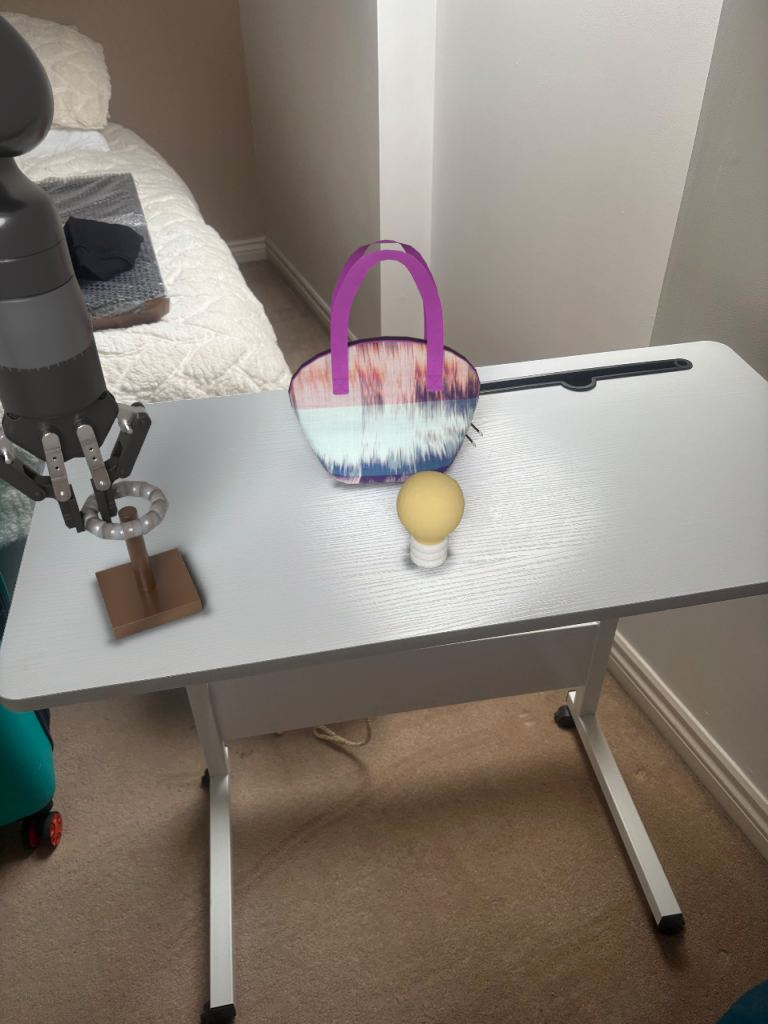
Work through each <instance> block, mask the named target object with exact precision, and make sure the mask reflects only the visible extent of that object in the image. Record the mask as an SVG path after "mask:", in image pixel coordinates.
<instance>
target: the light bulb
mask: <svg viewBox="0 0 768 1024" xmlns="http://www.w3.org/2000/svg"><path fill="white" fill-rule="evenodd" d="M397 493H398V494H397V496H396V502H395V507H396V509H395V510H396V514H397V517H398V520H399V521H400V523H401V525H402V526H403V528H404V529H405V530H406V531H407V532H408V534H409V552H408V553H409V555H408V556H409V559H410V560H411V562H412V563H413V564H414V565H415V566H418V567H420V568H425V569H434V568H437V567H440V566H441V565H443V564H444V563H445V562H446V560H447V559H448V549H449V535H450V534H452V533H453V532H454V531H455V530H456V529H457V527H458V526H459V525H460V524H461V522H462V519H463V517H464V513H465V506H466V504H465V503H466V502H465V497H464V492H463V490H462V488H461V486H460V484H459V483H458V481H457V479H455V478H454V477H452V476H450V475H449V474H447V473H445V472H444V473H440V472H436V471H422V472H418V473H416V474H414V475H412V476H411V477H410V478H408V479H407V480H406V482H403V484H402V486H401V487H400V489H399V491H398V492H397Z"/></svg>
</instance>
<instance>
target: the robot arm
mask: <svg viewBox="0 0 768 1024" xmlns="http://www.w3.org/2000/svg"><path fill="white" fill-rule="evenodd" d="M54 99H55V97H54V93H53V88H52V85H51V81H50V79H49V76H48V73H47V71H46V69H45V67H44V65H43V63H42V61H41V59H40V58H39V57H38V55H37V53H36V52H35V50H34V49H33V47H32V46H31V44H30V43H29V42H28V41H27V40H26V39H25V37H24V36H23V35H22V34H21V33H20V32H19V30H18V29H17V28H16V27H15V26H14V25H13V24H12V23H11V22H10V21H8V19H7V18H5V16H4V15H2V14H1V13H0V403H1V407H2V409H3V416H2V418H1V427H2V429H1V430H0V479H1V480H3V481H5V482H6V483H7V484H9V486H11V487H13V488H14V489H16V490H17V491H19V492H20V493H22V494H23V495H24V496H25V497H27V498H28V499H30V500H32V501H33V502H42V501H44V500H45V499H53V500H55V501H56V502H57V503H58V506H59V509H60V512H61V516H62V519H63V522H64V526H66V527H67V528H68V529H69V530H71V529H75V530H76V533H77V534H80V533H83V532H87V531H86V530H85V527H84V523H83V520H82V517H81V513H80V510H81V509H80V507H79V503H78V500H77V498H76V497H77V496H76V494H75V491H74V488H73V485H72V483H69V478H68V473H67V469H66V464H65V463H67V462H68V461H71V460H72V459H78V458H85V461H86V464H87V467H88V469H89V472H90V475H91V478H89V480H90V484H91V487H92V492H93V493H94V495H95V498H96V502H97V505H98V509H99V515H100V519H102V520H103V521H105V522H107V523H113V520H112V518H114V517H117V516H118V511H119V510H118V506H117V503H116V500H115V499H114V495H113V491H112V484H114V483H115V482H116V481H117V480H119V479H122V480H124V479H127V478H129V477H130V476H131V474H132V472H133V470H134V467H135V465H136V463H137V460H138V458H139V455H140V453H141V450H142V448H143V446H144V444H145V441H146V438H147V436H148V433H149V431H150V429H151V426H152V424H153V421H152V419H151V417H150V414H149V412H148V411H147V409H146V406H145V405H144V403H142V402H140V401H134V402H133V403H131V404H130V405H129V404H125V403H121V402H117V400H116V397H115V396H114V394H113V393H112V392H110V391H109V389H108V388H107V384H106V379H105V375H104V371H103V367H102V362H101V359H100V355H99V351H98V346H97V343H96V339H95V334H94V332H93V331H94V325H93V321H92V318H91V317H90V315H89V311H88V307H87V303H86V300H85V296H84V294H83V292H82V289H81V286H80V284H79V282H78V279H77V276H76V273H75V270H74V266H73V262H72V257H71V254H70V249H69V246H68V242H67V239H66V235H65V230H64V226H63V222H62V218H61V215H60V212H59V209H58V207H57V204H56V203H55V201H54V199H53V198H52V196H51V195H50V194H49V193H48V192H47V191H46V190H45V189H43V188H42V187H41V186H39V185H38V184H37V183H36V182H34V181H33V180H32V179H30V178H29V177H28V176H27V175H26V174H24V173H23V171H22V170H21V168H20V167H19V165H18V163H17V162H16V159H15V158H16V157H17V158H18V157H21V156H24V155H26V154H28V153H30V152H32V151H34V150H35V149H36V148H38V147H40V145H41V144H42V143H43V142H44V141H45V139H46V137H47V136H48V134H49V132H50V130H51V128H52V125H53V120H54V115H55V100H54ZM116 419H117V424H118V427H119V429H120V431H119V432H118V435H117V437H116V440H115V443H114V445H113V447H112V451H111V453H110V455H109V458H108V459H106V460H104V459H103V455H102V452H101V450H100V449H101V447H102V446H103V445H104V443H105V441H106V440H107V437H108V435H109V433H110V431H111V429H112V427H113V425H114V424H115V422H116ZM13 444H14V445H16V446H17V447H19V448H21V449H23V450H24V451H25V452H27V453H29V454H31V455H32V456H34V457H35V458H37V459H39V460H41V461H42V462H45V463H46V464H45V465H46V467H47V470H48V475H41V474H40V473H39V472H37V471H36V470H35V469H33V467H31V466H29V465H28V464H27V463H25V462H24V461H22V459H20V458H18V457H17V455H16V451H15V448H14V446H13Z"/></svg>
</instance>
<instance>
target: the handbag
mask: <svg viewBox="0 0 768 1024" xmlns="http://www.w3.org/2000/svg"><path fill="white" fill-rule="evenodd" d="M376 244H377V245H378V244H399V245H400V246H401V248H402V249H403V250H404V251H403V250H398V249H397V250H396V249H381V250H374V251H370V252H369V253H367V254H365V253H366V251H367V250H368V248H369V247H370V246H372V245H376ZM364 254H365V255H364ZM384 261H396V262H398V263H400V264H401V265H403V266H404V267H405V268H406V269H407V271H408V272H409V274H411V277H412V280H413V281H414V283H415V285H416V288H417V290H418V292H419V295H420V297H421V300H422V306H423V307H422V309H423V338H420V337H414V336H406V335H379V336H371V337H363V338H362V337H361V338H357V339H354V340H350V341H348V334H349V333H348V331H349V320H350V319H349V318H350V312H351V310H352V309H351V308H352V304H353V302H354V299H355V297H356V294H357V292H358V290H359V288H360V286H361V284H362V282H363V280H364V278H365V276H366V275H367V273H368V272H369V271H370V269H371V268H372V267H373V266H375V265H376V264H378V263H380V262H384ZM330 304H331V305H330V321H329V323H330V324H329V325H330V327H329V328H330V330H329V331H330V332H329V333H330V347H329V348H327V349H324V350H322V351H320V352H317V353H316V354H314V355H313V356H311V357H310V358H308V359H307V360H305V361H304V362H302V363H301V364H300V366H299V367H298V368H297V370H296V371H295V372H294V374H293V375H292V376H291V378H290V381H289V385H288V390H287V392H288V397H289V402H290V407H291V408H292V411H293V413H294V415H295V418H296V420H297V422H298V424H299V427H300V428H301V431H302V433H303V434H304V436H305V438H306V440H307V441H308V444H309V445H310V447H311V449H312V451H313V452H314V454H315V456H316V457H317V459H318V461H319V462H320V464H321V465H322V467H323V469H324V470H325V471H326V472H328V473H329V474H330V475H331V476H332V477H333V479H335V481H337V482H341V483H344V484H347V485H362V484H363V485H364V484H365V485H367V484H383V483H405V482H406V480H407V479H408V478H410V477H411V476H412V475H414V474H416V473H418V472H422V471H436V472H440V473H444V474H445V472H446V471H448V469H449V468H450V467H451V466H452V464H453V463H454V462H455V459H456V457H457V456H458V454H459V452H460V450H461V448H462V445H463V444H464V441H465V439H467V440H468V441H469V442H470V443H471V444H472V446H473V447H474V448H476V447H477V445H476V443H475V442H474V441H473V439H472V438H471V437H470V436H469V435H468V431H469V429H470V427H472V429H474V430H475V432H477V434H479V435H480V436H481V437H483V436H484V435H483V432H482V431H481V430H480V429H479V428H478V427H477V426H476V425H475V424H473V422H472V421H473V419H474V415H475V412H476V409H477V406H478V403H479V399H480V393H481V380H480V377H479V373H478V370H477V369H476V368H475V366H474V365H473V364H472V363H471V362H470V361H469V359H468V358H467V357H466V356H465V355H463V354H461V353H459V351H457V350H455V349H454V348H452V347H450V346H448V345H445V344H444V342H445V341H444V339H445V337H444V336H445V335H444V334H445V333H444V316H443V315H444V314H443V307H442V302H441V298H440V296H439V292H438V287H437V284H436V281H435V279H434V276H433V273H432V272H431V269H430V267H429V265H428V264H427V261H426V260H425V259H424V257H423V256H422V254H421V253H420V252H419V251H418V250H417V249H416V248H415V247H413V246H412V245H411V244H406V243H402V242H400V241H396V240H393V239H382V240H376V241H373V242H372V243H368V244H365V245H363V246H359V247H358V248H356V250H355V251H354V252H353V253H351V254H350V256H349V257H348V258H347V260H346V261H345V264H344V265H343V267H342V269H341V271H340V273H339V276H338V278H337V280H336V283H335V287H334V289H333V293H332V298H331V303H330Z"/></svg>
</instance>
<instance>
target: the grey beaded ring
mask: <svg viewBox="0 0 768 1024" xmlns="http://www.w3.org/2000/svg"><path fill="white" fill-rule="evenodd" d="M112 491H113V495H114V499H115V501H116V500H119V499H122V498H127V497H129V498H130V497H133V498H142V499H144V500H146V501H148V502H149V503H150V508H149V510H148V511H147V512H146V513H144V514H143V515H141V516H140V517H139V519H136V520H132V521H129V522H125V523H120V522H112V523H107V522H105V521H103V520H102V518H101V517H99V514H100V512H99V509H98V505H97V502H96V498H95V495H94V492H93V493H91V494H90V495H89V496H87V498H86V499H85V501H84V503H83V504H82V507H81V509H79V510H80V513H81V517H82V520H83V523H84V527H85V530H86V531H85V532H88V533H90V534H92V535H93V536H95V537H97V538H99V539H102V540H109V541H110V540H113V541H125V540H127V539H130V538H134V537H137V536H141V535H143V536H144V535H147V534H148V533H149V532H151V531H152V530H153V529H155V528H156V527H159V525H161V524H162V523H163V522H164V519H165V517H166V515H167V512H168V510H169V508H170V503H169V501H168V498H167V496H166V494H165V492H164V491H163V489H162V488H160V487H159V486H156V485H154V484H153V483H150V482H148V481H144V480H122V481H118V482H113V484H112Z"/></svg>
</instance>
